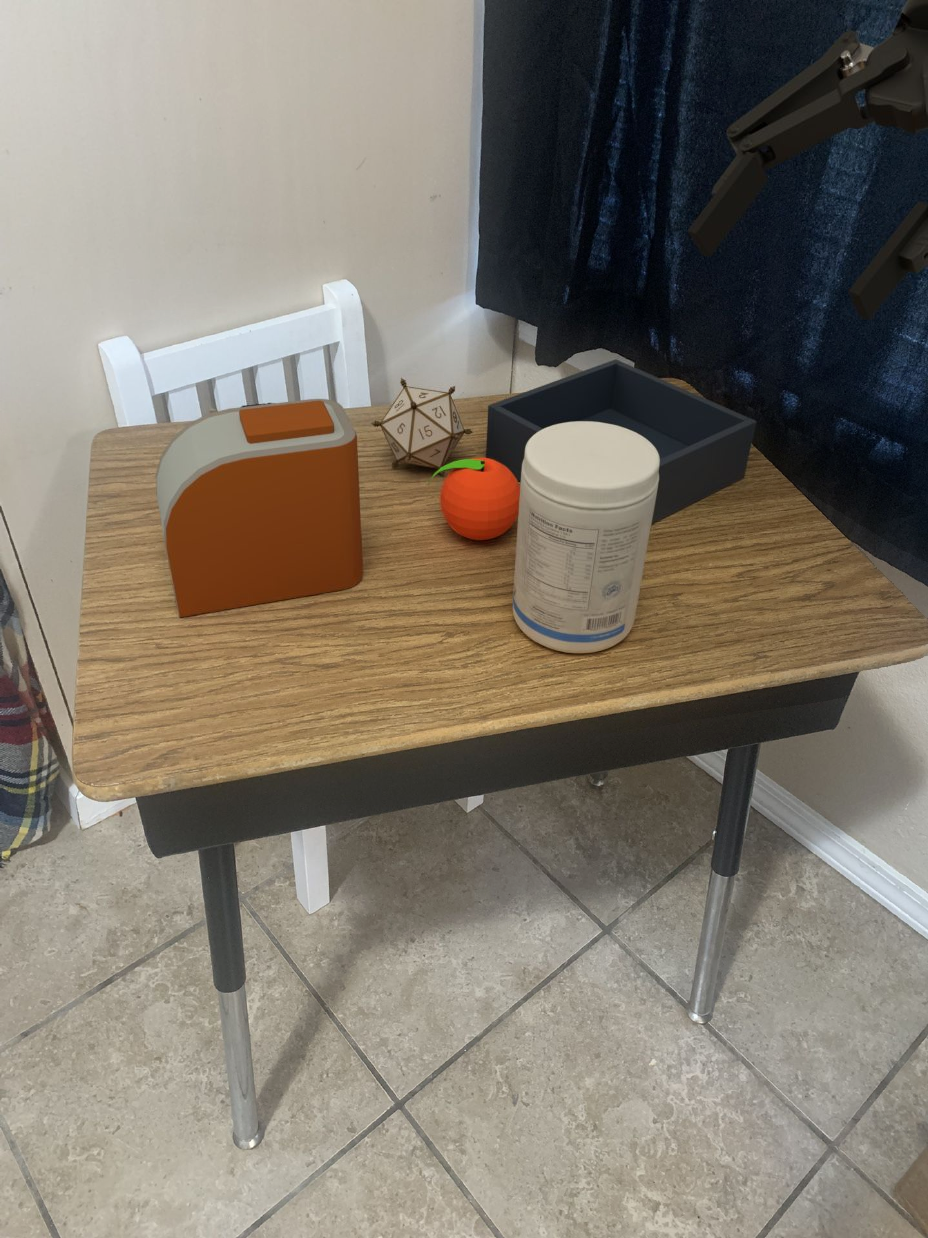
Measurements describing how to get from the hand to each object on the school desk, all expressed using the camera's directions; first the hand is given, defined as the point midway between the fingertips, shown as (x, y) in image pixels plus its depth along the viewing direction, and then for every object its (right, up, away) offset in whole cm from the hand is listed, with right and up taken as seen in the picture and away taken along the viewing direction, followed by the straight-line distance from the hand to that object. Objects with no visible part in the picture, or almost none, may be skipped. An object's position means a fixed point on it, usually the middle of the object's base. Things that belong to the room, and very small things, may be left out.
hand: (772, 273), depth 64 cm
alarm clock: (-36, -19, +16) cm, 44 cm away
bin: (-6, -8, +30) cm, 32 cm away
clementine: (-20, -15, +21) cm, 32 cm away
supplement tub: (-12, -23, +12) cm, 28 cm away
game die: (-24, -8, +30) cm, 40 cm away
